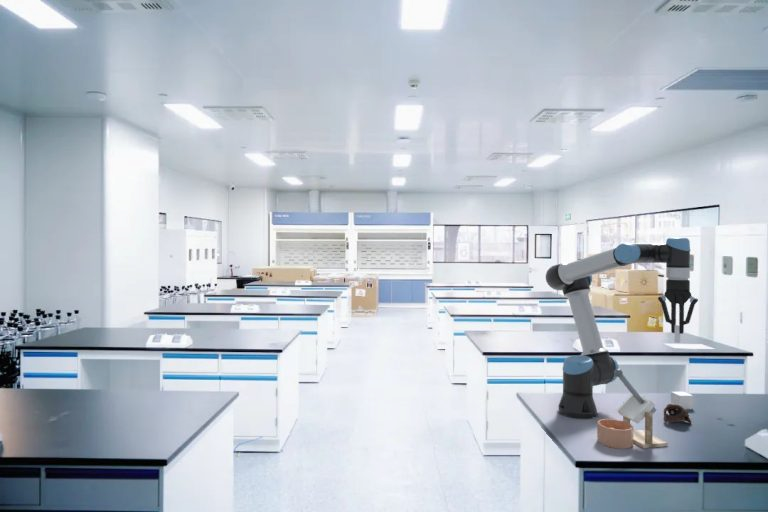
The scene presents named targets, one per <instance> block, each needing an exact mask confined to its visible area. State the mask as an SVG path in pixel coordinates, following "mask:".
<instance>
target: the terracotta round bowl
mask: <svg viewBox="0 0 768 512" xmlns="http://www.w3.org/2000/svg"><path fill="white" fill-rule="evenodd" d="M596 424H597V425H596V427H597V429H596V430H597V432H596V434H597V435H596V438H597V442H598V443H599V444H601V445H602V446H605V447H606V448H607V447H608V448H612V449H616V450H617V449H619V450H627V449H631V448H633V446H634V443H633V431H634V426H633V425H632V424H631V423H630V424H629V423H627V422H624V421H623V420H622V419H621V420H620V419H616V418H614V419H613V418H603V419H599V420H598V421H597V422H596ZM612 428H615V429H612Z"/></svg>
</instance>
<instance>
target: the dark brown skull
mask: <svg viewBox="0 0 768 512" xmlns="http://www.w3.org/2000/svg"><path fill="white" fill-rule="evenodd" d="M663 421H664V423H665V424H667V423H680V422H687V423H689V425H692V419H691V418H690V414H689V411H688V410H687V409H684V408H683V407H682V406H680V405H675V404H673V405H672V404H671V403H669V404H667V405H666V406H665V408H664V409H663Z"/></svg>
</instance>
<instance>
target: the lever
mask: <svg viewBox="0 0 768 512" xmlns="http://www.w3.org/2000/svg"><path fill="white" fill-rule="evenodd" d="M623 373H624V372H623V370H622V369H620V368H619V369H616V370H615V371H614V374H615V376H617V377H618V378H619V380H620V381H621V382H622V383H623V385H624V386H625V387H626V389H627V390H628V392H630V393H631V395H630V396H629V397H628V398H627V399H625V401H623V402H624V403H623V402H622V404H621V405H620V406H619V407H618V408H617V409H616V411H617V412H618V414H619V415H620V416H622V417H623V416H624V417H626V418H628V419H630V421H632V422H634V423H635V424H639V423H641V422H642V420H643V419H645V412H651V413H653V415H654V414H655V413H656V412H657V409H656V405H655V403H654V402H653V401H652V400H651V399H648V398H646V397H643V396H641V395H640V394H639V393H638V392H637V390H636V389H635V388H634V386H633V385H632V384H631V383H630V381H629V380H628V379H627V377H626V376H625V375H624V374H623Z"/></svg>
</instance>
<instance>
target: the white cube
mask: <svg viewBox="0 0 768 512" xmlns="http://www.w3.org/2000/svg"><path fill="white" fill-rule="evenodd" d="M670 404H672V405H673V404H675V405H680V406H682V407H683V408H684V409H685V410H694V395H692V394H691V393H688V392H686V391H670Z"/></svg>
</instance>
